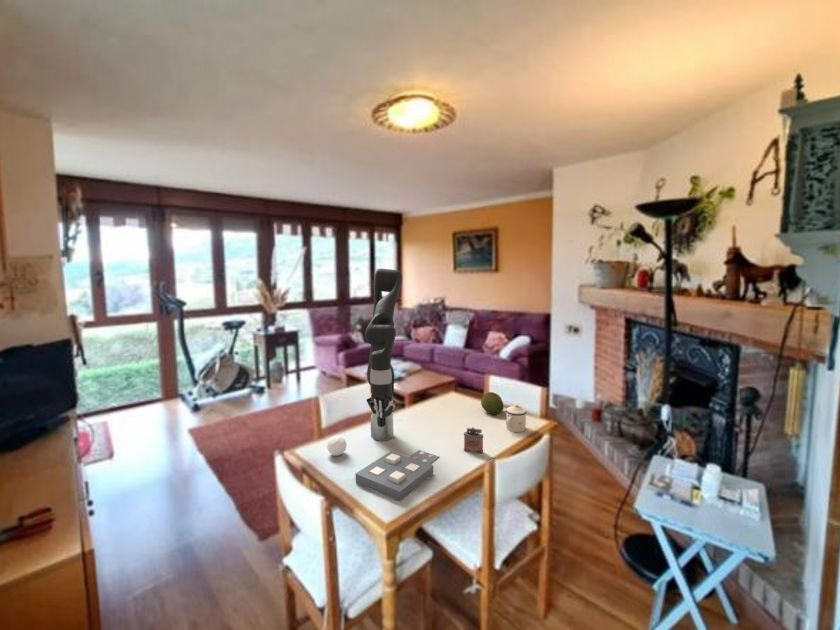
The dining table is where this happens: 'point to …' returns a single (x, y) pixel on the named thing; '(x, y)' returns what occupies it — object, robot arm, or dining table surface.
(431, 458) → the pattern card
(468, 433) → the lighter
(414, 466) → the button
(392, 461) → the button
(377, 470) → the button
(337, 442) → the geometric ball
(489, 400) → the fruit
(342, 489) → the dining table surface
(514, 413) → the teacup with lid
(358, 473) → the button box
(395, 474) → the button
